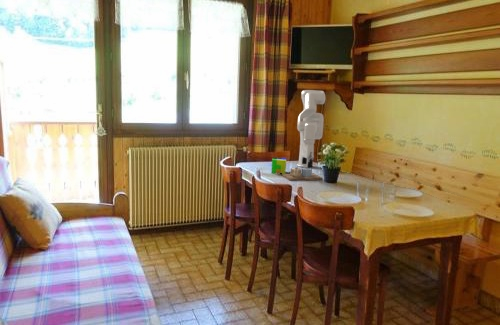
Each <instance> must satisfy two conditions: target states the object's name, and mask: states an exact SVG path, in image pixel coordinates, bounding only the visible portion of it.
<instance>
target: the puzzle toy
mask: <svg viewBox="0 0 500 325" xmlns="http://www.w3.org/2000/svg"><path fill="white" fill-rule="evenodd" d="M271 159H272V160H271V174H274V173H282V174H286V168H287V157H274V156H273V157H272V158H271ZM282 174H281V175H282Z"/></svg>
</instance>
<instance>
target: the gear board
mask: <svg viewBox="0 0 500 325" xmlns="http://www.w3.org/2000/svg"><path fill="white" fill-rule="evenodd" d="M305 168H306V167H305ZM306 169H307V168H306ZM301 173H302V168H301V167H299V166H297V167H296V166H295V167H292V168H290V173H285V174H281V175H282V177H284V178H285V179H286V180H288V181H290V182H295V181H296V182H299V181H301V182H302V181H303V182H305V181H323V177H322V176H320V175H318V174H316V173H313V172H312V176H311V177H304V176H301Z"/></svg>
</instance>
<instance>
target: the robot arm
mask: <svg viewBox="0 0 500 325" xmlns="http://www.w3.org/2000/svg"><path fill="white" fill-rule="evenodd" d="M301 101H302V105H303V110H302V111H301V112H300V113H299V115H298V117H297V122H296V123H297V124H296V125H297V126H296V129H297V131H298V132H299V137H300V139H299V140H300V142H299V156H298V163H296V166H297V167H298V168H311V169H312V168H313V165H314V164H313V163H314V158H315V156H314V155H315V154H314V152H315V150H314V149H315V145H314V144H315V141H316V140H321V139H322V138H323V132H324V114H323V113H320V112H317V105H324V104H325V103H326V94H325V91H323V90H314V89H304V90H302V91H301Z"/></svg>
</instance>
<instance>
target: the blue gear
mask: <svg viewBox="0 0 500 325" xmlns="http://www.w3.org/2000/svg"><path fill="white" fill-rule="evenodd" d="M312 173H313V169H312V167H311V168H307V169H306V167H301V176H304V177H311V176H312Z"/></svg>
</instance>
